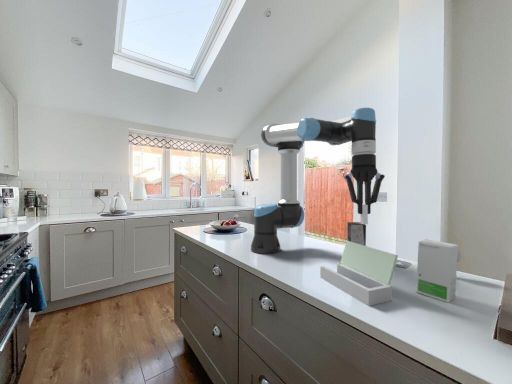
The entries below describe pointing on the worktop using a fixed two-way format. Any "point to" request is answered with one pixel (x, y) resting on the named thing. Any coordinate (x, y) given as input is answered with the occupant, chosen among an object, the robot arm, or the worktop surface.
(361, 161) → the robot arm
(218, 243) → the worktop surface
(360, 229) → the coffee box
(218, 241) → the worktop surface
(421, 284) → the skincare box
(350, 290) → the white u-shaped channel
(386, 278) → the cover
